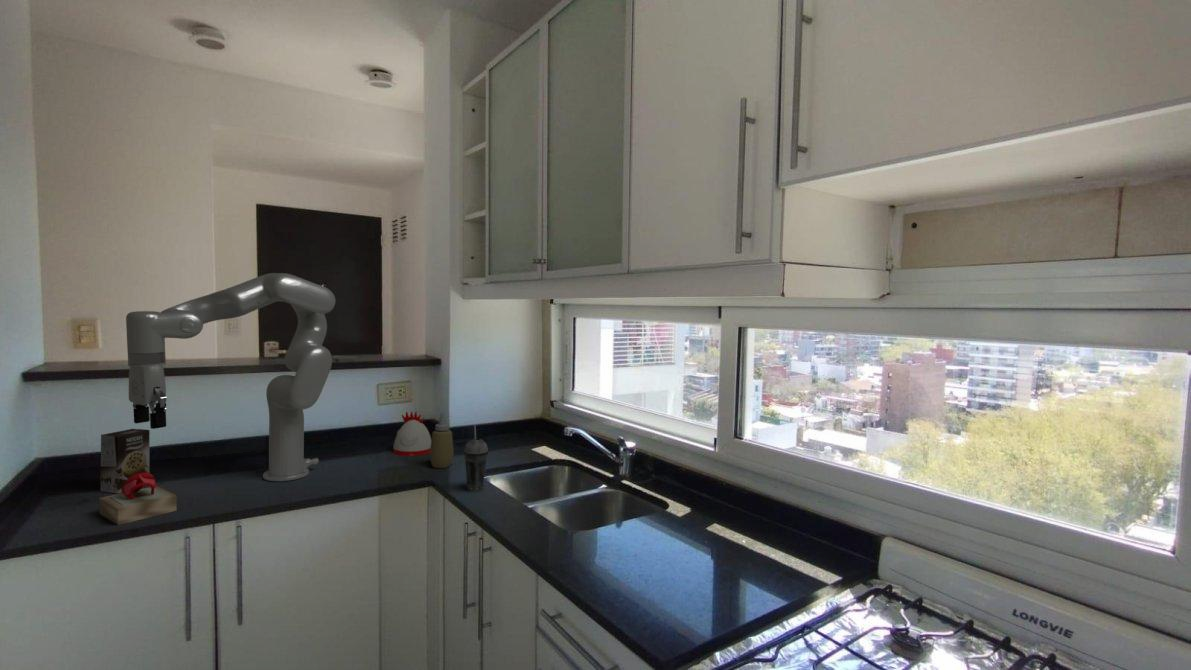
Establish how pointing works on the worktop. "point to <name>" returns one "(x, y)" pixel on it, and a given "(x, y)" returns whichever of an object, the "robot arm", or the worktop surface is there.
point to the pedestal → (137, 505)
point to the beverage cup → (475, 463)
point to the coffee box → (123, 457)
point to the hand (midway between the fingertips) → (150, 425)
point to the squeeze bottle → (441, 445)
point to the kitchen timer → (412, 437)
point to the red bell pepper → (138, 484)
